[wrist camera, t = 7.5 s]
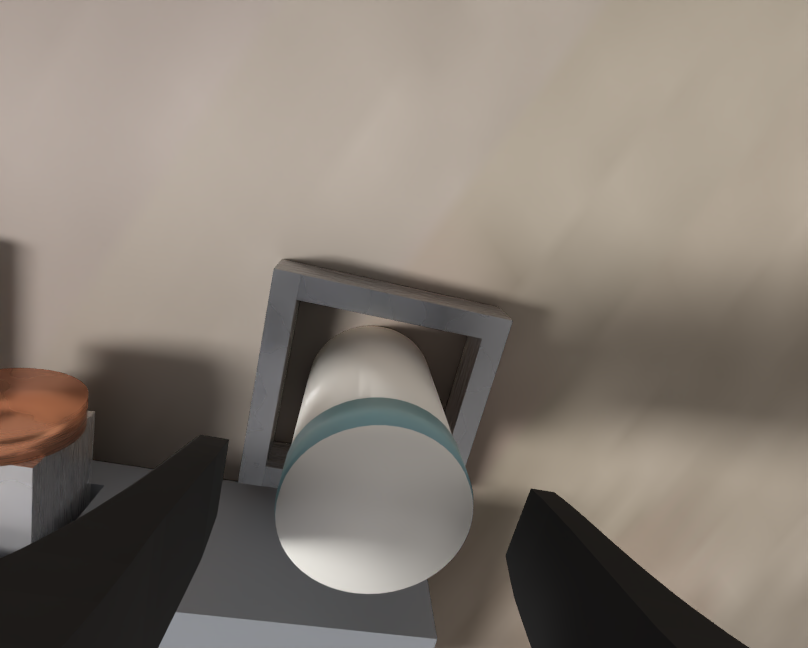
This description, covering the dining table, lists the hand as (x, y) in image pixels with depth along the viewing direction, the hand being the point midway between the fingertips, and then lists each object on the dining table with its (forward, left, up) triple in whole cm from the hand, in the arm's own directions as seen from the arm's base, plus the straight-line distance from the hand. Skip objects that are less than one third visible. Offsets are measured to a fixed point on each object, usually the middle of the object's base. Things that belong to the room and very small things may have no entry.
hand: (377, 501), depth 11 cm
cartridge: (0, 0, -7) cm, 7 cm away
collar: (0, 0, -7) cm, 7 cm away
